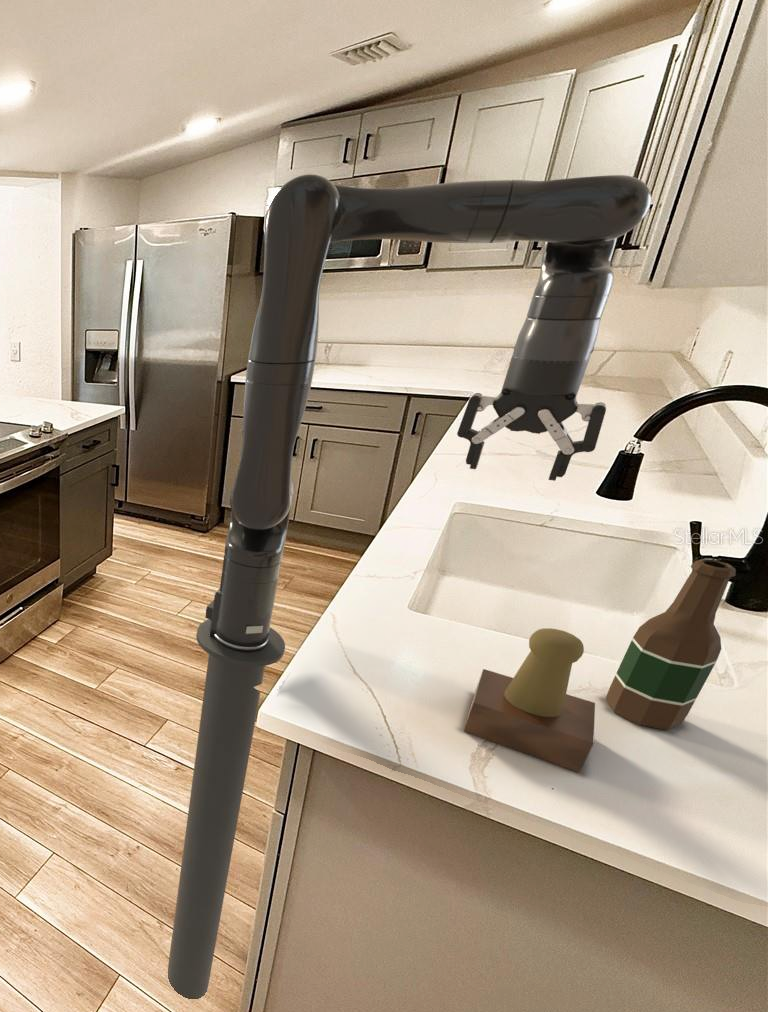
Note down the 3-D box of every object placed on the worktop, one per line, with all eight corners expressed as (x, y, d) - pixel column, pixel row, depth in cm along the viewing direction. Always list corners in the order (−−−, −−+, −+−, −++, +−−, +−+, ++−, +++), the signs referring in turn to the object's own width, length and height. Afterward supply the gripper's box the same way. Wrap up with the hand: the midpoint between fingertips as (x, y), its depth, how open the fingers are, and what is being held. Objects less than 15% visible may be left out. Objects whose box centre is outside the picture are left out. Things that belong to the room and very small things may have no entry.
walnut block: (463, 731, 86) (473, 702, 84) (473, 695, 93) (483, 668, 91) (579, 773, 78) (593, 743, 76) (581, 731, 85) (595, 702, 83)
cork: (494, 695, 85) (519, 629, 81) (520, 683, 87) (546, 617, 83) (546, 722, 80) (575, 652, 75) (572, 708, 82) (603, 640, 78)
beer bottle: (679, 739, 83) (764, 584, 73) (600, 712, 88) (669, 564, 78) (683, 712, 87) (763, 562, 77) (607, 688, 93) (673, 545, 83)
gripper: (477, 355, 81) (444, 471, 88) (629, 361, 72) (580, 491, 79) (484, 347, 86) (453, 458, 93) (628, 353, 77) (582, 475, 83)
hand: (511, 473), depth 86 cm, fingers open, 8 cm apart
